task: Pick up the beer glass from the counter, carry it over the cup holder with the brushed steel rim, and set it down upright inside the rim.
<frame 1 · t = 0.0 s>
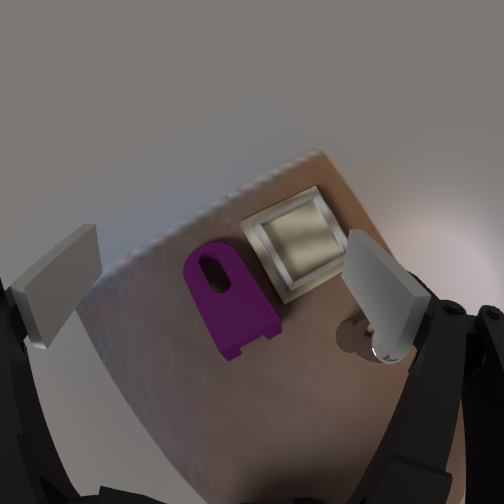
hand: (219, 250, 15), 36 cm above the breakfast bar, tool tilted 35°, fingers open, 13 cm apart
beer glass: (350, 335, 50), on the breakfast bar
mounting bracket: (226, 296, 50), on the breakfast bar
cup holder: (300, 242, 53), on the breakfast bar
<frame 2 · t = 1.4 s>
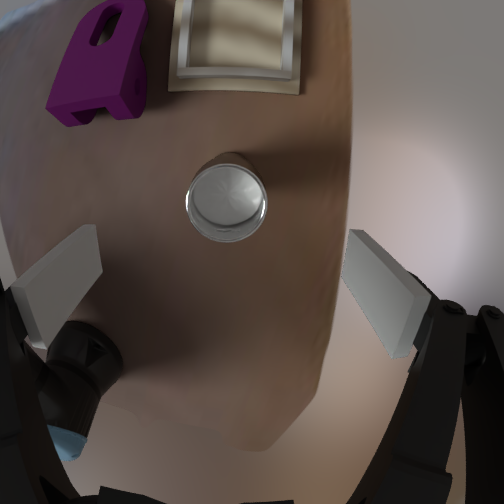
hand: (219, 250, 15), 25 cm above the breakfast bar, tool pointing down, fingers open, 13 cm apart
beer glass: (229, 175, 37), on the breakfast bar
mounting bracket: (116, 57, 30), on the breakfast bar
cup holder: (236, 34, 30), on the breakfast bar
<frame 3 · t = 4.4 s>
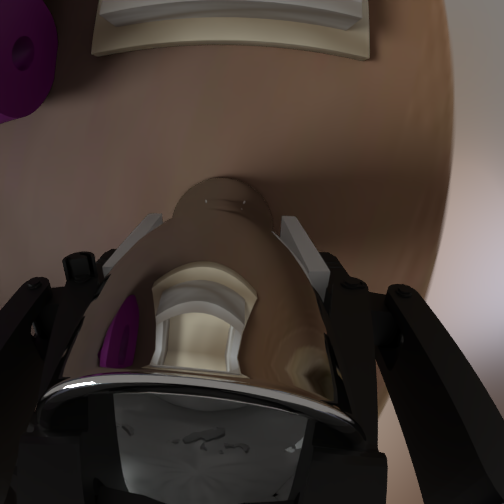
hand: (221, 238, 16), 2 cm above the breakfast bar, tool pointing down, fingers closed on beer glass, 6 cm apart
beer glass: (222, 225, 18), on the breakfast bar, touching gripper
mounting bracket: (22, 15, 11), on the breakfast bar
when the fingers open (4 cm above the breakfast bar, at t = 11.9 s): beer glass drops 1 cm, resting on cup holder.
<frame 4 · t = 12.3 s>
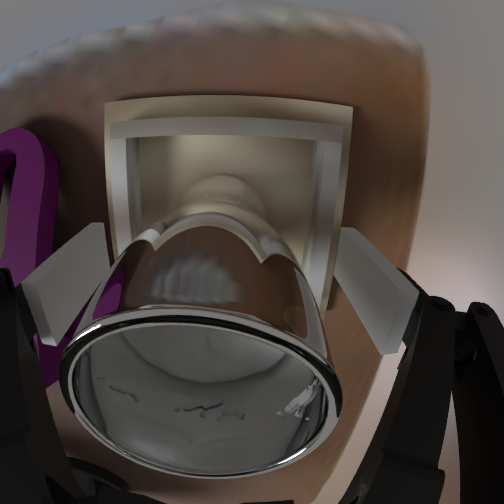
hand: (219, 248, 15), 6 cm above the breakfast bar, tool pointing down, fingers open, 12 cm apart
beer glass: (220, 219, 20), point 1 cm above the breakfast bar, touching cup holder
mounting bracket: (35, 235, 20), on the breakfast bar
cup holder: (223, 215, 20), on the breakfast bar
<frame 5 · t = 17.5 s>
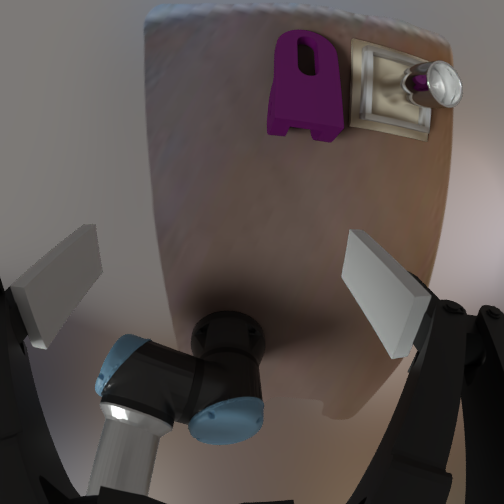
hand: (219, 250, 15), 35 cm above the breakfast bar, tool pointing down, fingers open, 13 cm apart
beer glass: (393, 90, 41), point 1 cm above the breakfast bar, touching cup holder
mounting bracket: (299, 83, 42), on the breakfast bar
cup holder: (391, 90, 42), on the breakfast bar
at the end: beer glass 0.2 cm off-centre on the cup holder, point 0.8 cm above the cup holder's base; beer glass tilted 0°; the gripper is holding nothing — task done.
